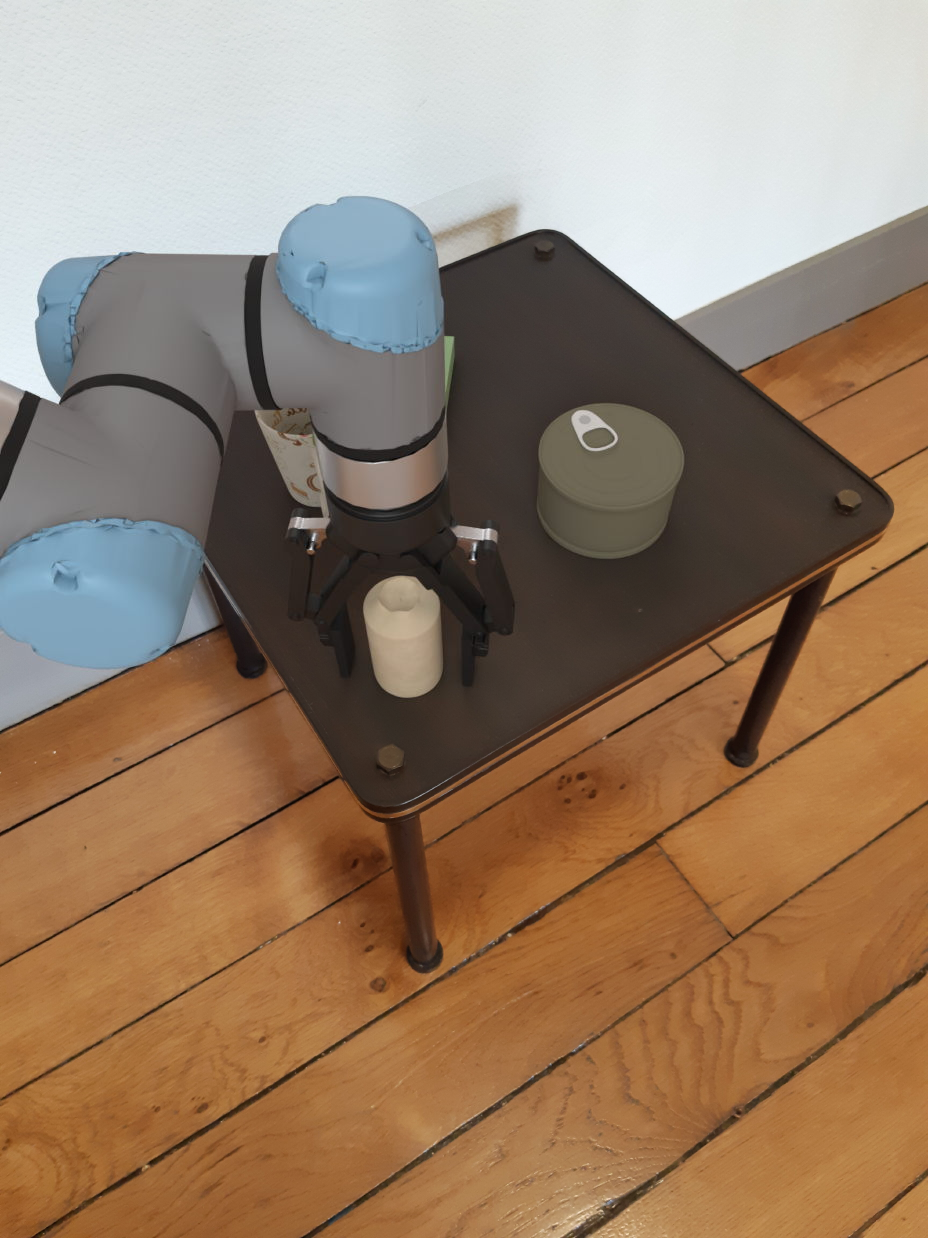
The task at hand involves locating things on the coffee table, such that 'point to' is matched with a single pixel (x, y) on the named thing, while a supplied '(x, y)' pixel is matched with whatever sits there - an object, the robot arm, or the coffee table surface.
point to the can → (607, 479)
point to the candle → (404, 636)
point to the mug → (295, 453)
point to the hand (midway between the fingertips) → (408, 666)
